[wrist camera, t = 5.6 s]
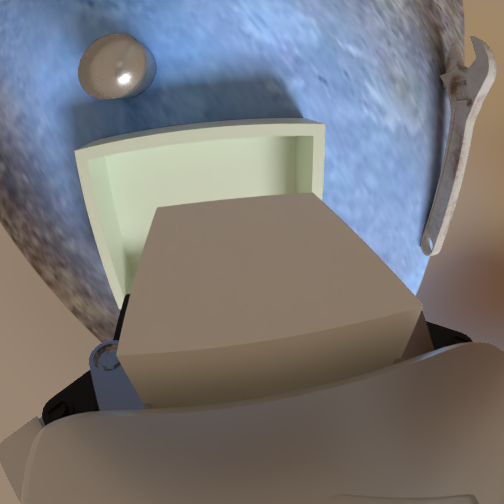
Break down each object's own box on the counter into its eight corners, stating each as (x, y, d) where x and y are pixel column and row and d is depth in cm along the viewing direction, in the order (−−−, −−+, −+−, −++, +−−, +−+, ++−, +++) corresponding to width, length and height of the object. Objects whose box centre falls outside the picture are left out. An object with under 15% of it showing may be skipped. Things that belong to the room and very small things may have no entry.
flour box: (157, 207, 10) (115, 354, 4) (312, 192, 11) (423, 305, 5) (182, 325, 13) (186, 464, 7) (304, 309, 14) (359, 431, 8)
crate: (95, 139, 23) (74, 150, 19) (303, 117, 26) (325, 124, 21) (127, 278, 31) (119, 309, 27) (299, 259, 34) (314, 286, 29)
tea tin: (101, 52, 19) (77, 44, 14) (155, 40, 20) (143, 26, 15) (104, 102, 22) (80, 106, 17) (158, 92, 22) (146, 91, 17)
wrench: (408, 237, 39) (439, 31, 21) (417, 235, 39) (449, 35, 21) (438, 271, 33) (489, 38, 14) (447, 269, 33) (498, 44, 14)
